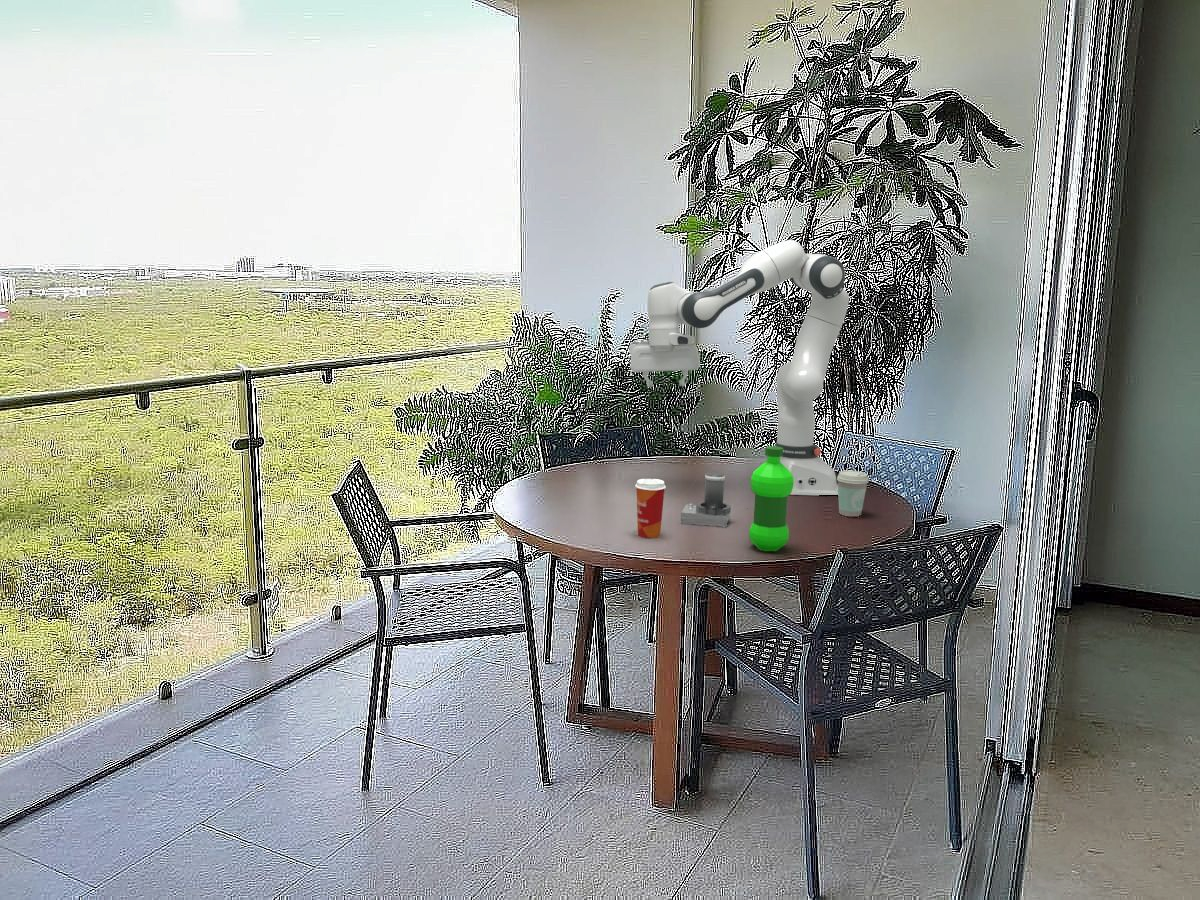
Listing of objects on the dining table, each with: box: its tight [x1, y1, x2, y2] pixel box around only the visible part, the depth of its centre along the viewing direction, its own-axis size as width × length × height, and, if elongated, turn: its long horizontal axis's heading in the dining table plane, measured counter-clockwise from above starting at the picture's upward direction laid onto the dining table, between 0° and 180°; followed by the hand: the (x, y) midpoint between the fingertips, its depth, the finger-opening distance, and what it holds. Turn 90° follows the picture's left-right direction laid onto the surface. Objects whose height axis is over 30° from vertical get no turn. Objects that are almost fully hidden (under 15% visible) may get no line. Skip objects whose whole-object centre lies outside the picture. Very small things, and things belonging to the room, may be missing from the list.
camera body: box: [680, 501, 732, 528], centre depth 249 cm, size 12×9×4 cm
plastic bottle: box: [748, 445, 794, 552], centre depth 224 cm, size 10×10×25 cm
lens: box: [703, 471, 726, 509], centre depth 248 cm, size 5×5×10 cm
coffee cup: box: [836, 470, 870, 516], centre depth 258 cm, size 9×8×12 cm
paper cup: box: [635, 478, 667, 539], centre depth 234 cm, size 8×8×14 cm
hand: (665, 386), depth 272 cm, fingers open, 8 cm apart
